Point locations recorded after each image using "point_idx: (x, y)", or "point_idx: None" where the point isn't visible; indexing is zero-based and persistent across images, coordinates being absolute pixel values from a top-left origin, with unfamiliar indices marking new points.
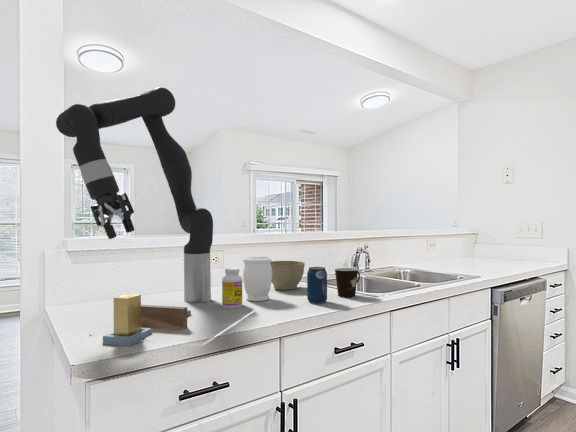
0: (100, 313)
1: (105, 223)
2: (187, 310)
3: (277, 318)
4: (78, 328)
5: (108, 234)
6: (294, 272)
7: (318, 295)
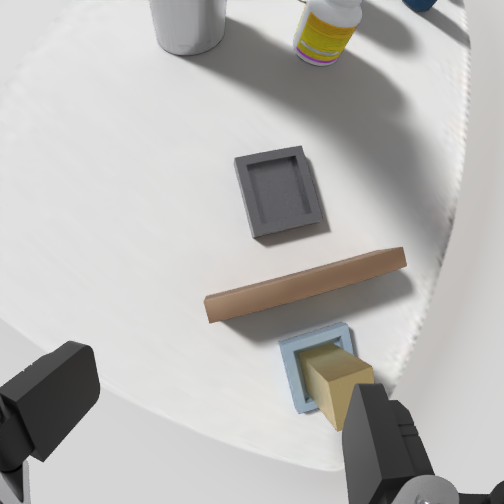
0: (53, 237)
1: (15, 463)
2: (293, 148)
3: (445, 110)
4: (135, 364)
5: (82, 417)
6: None
7: (431, 5)
